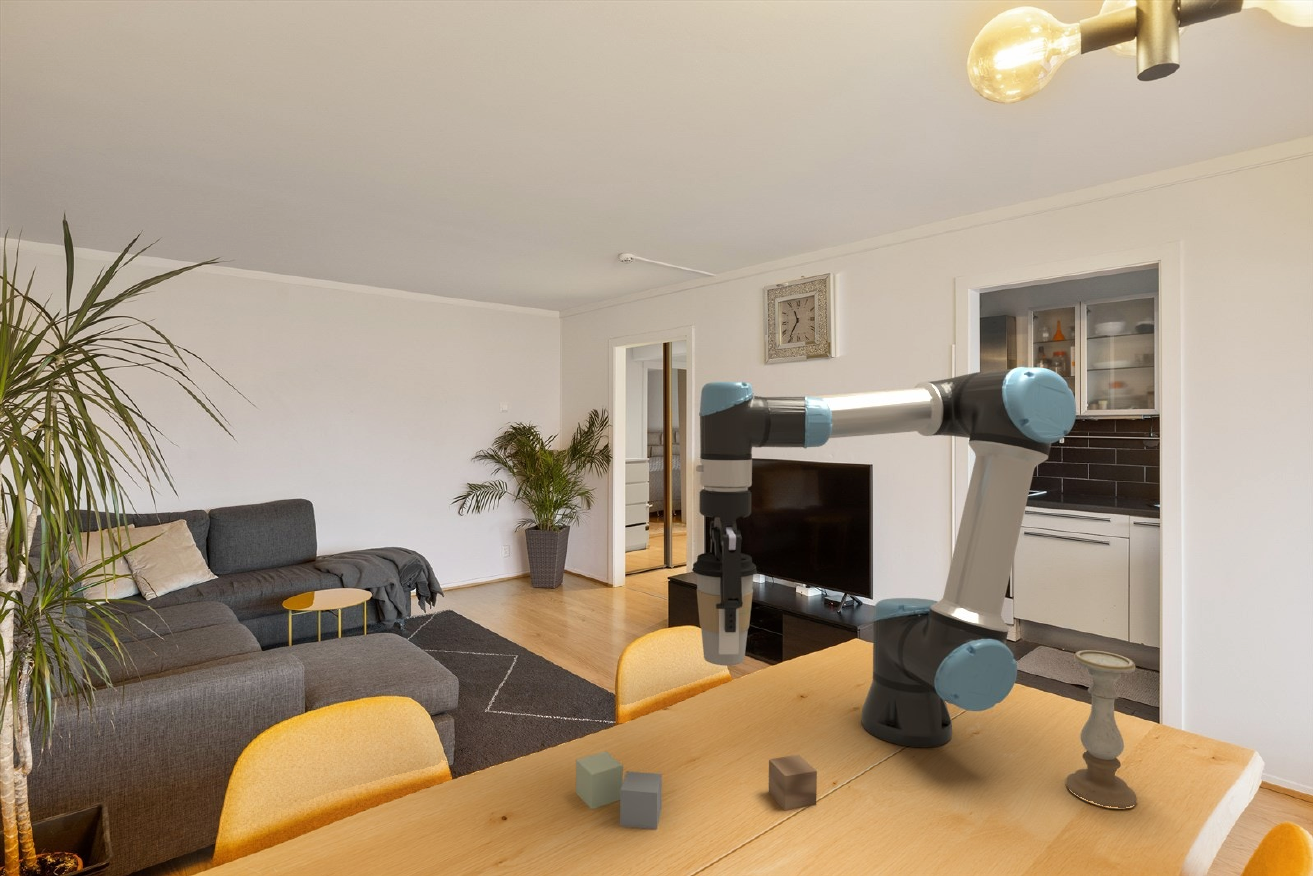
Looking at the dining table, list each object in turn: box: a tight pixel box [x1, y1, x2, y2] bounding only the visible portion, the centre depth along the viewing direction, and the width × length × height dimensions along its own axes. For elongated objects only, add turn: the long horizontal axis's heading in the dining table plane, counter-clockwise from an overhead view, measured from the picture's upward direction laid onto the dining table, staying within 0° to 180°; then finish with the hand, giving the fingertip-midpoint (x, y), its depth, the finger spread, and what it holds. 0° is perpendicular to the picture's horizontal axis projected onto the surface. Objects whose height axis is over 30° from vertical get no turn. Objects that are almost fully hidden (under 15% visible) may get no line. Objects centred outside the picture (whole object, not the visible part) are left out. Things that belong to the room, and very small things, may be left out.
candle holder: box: [1065, 649, 1138, 808], centre depth 101 cm, size 9×9×20 cm
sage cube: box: [575, 750, 624, 810], centre depth 100 cm, size 5×5×5 cm
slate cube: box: [619, 771, 663, 830], centre depth 94 cm, size 5×5×5 cm
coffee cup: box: [691, 551, 758, 667], centre depth 100 cm, size 9×9×15 cm
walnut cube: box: [768, 754, 818, 812], centre depth 99 cm, size 5×5×5 cm
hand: (724, 643), depth 100 cm, fingers closed on coffee cup, 8 cm apart
